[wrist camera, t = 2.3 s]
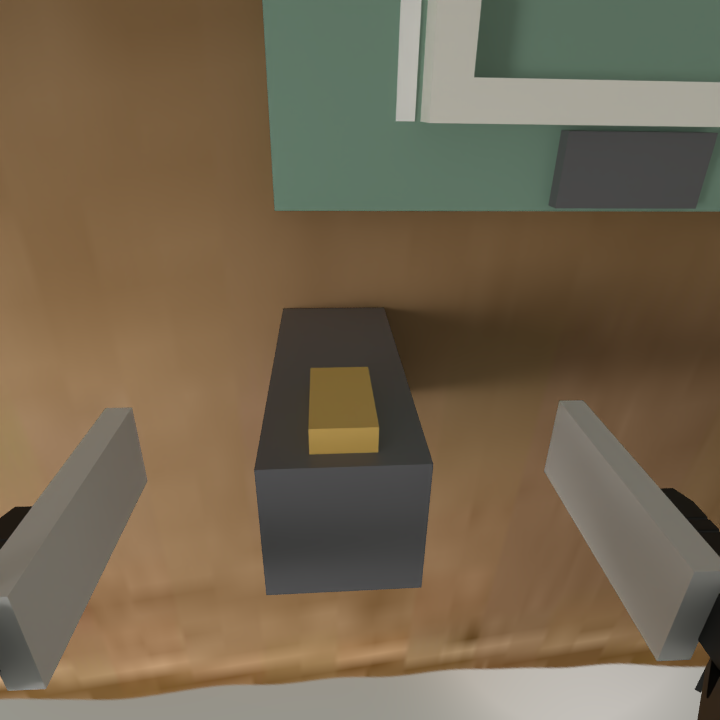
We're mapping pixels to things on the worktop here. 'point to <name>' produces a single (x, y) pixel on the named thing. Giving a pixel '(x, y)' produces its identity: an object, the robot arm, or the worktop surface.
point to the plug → (341, 458)
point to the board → (494, 105)
